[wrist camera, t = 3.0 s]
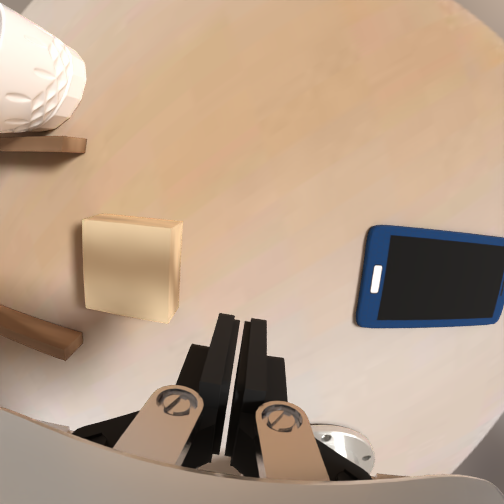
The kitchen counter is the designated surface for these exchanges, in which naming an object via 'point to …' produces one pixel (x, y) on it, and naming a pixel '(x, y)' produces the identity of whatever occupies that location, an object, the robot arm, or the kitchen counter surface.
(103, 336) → the kitchen counter surface
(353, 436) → the robot arm
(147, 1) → the kitchen counter surface
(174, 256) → the tan square block
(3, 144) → the corral
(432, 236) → the cell phone
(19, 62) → the white cup
